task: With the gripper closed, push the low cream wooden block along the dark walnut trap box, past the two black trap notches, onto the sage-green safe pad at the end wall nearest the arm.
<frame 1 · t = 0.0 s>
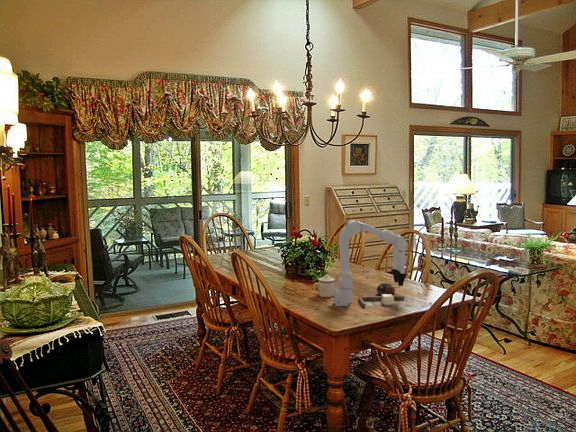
hand: (398, 284, 252), 10 cm above the table, tool pointing down, fingers open, 7 cm apart
trap box: (385, 306, 247), on the table
teacup with lid: (324, 295, 269), on the table
cream block: (387, 303, 248), point 1 cm above the table, touching trap box
decorative turtle: (385, 297, 264), on the table
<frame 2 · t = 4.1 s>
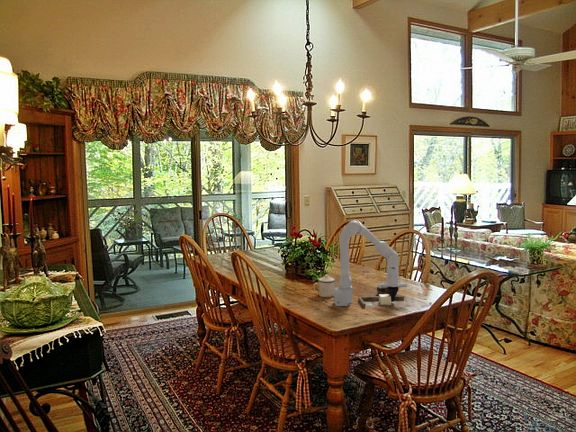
hand: (392, 301, 248), 2 cm above the table, tool pointing down, fingers closed
cream block: (384, 303, 248), point 1 cm above the table, touching gripper, trap box
everything else where it was.
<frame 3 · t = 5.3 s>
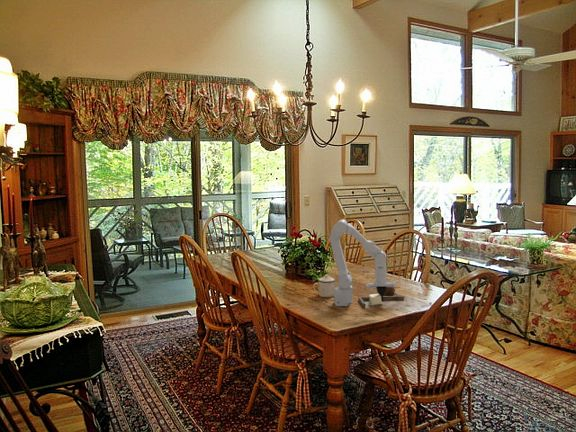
hand: (381, 300, 247), 3 cm above the table, tool pointing down, fingers closed, pressing on cream block
cream block: (375, 302, 247), point 2 cm above the table, tilted 5°, touching gripper, trap box
everything else where it was.
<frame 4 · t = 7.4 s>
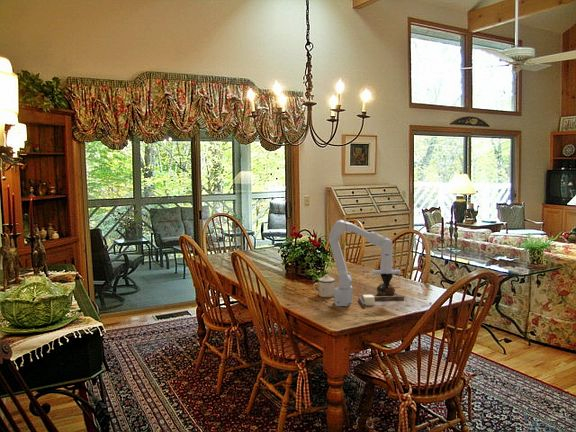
hand: (386, 288, 247), 9 cm above the table, tool pointing down, fingers closed
cream block: (368, 303, 247), point 2 cm above the table, touching trap box
everything else where it was.
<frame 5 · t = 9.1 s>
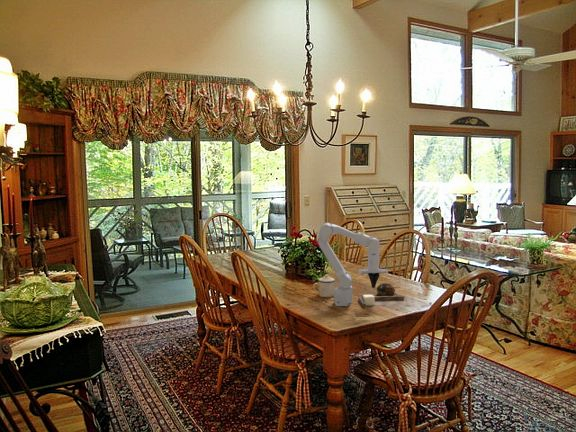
hand: (373, 287, 249), 9 cm above the table, tool pointing down, fingers closed
nothing on the table moved.
at the end: cream block 0.2 cm from the target spot, point 1.5 cm above the table; cream block tilted 0° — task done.
